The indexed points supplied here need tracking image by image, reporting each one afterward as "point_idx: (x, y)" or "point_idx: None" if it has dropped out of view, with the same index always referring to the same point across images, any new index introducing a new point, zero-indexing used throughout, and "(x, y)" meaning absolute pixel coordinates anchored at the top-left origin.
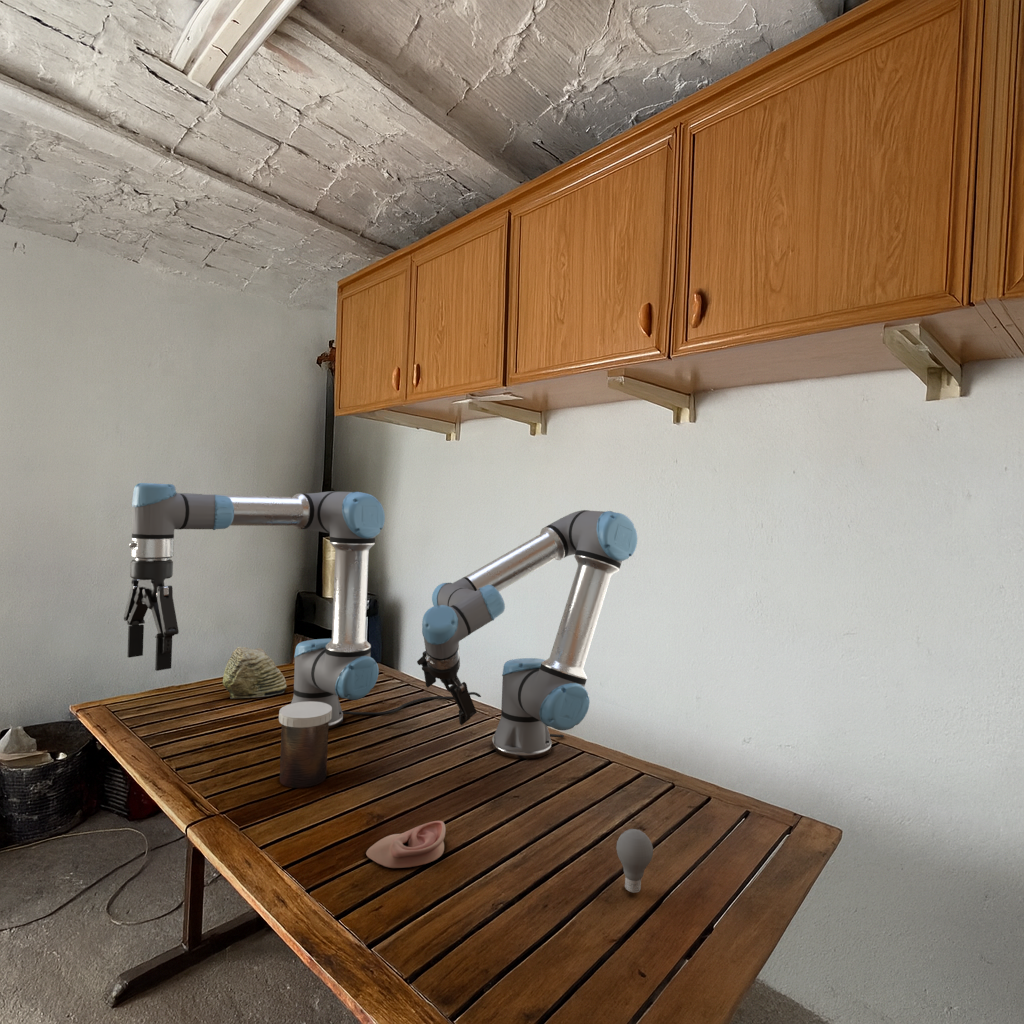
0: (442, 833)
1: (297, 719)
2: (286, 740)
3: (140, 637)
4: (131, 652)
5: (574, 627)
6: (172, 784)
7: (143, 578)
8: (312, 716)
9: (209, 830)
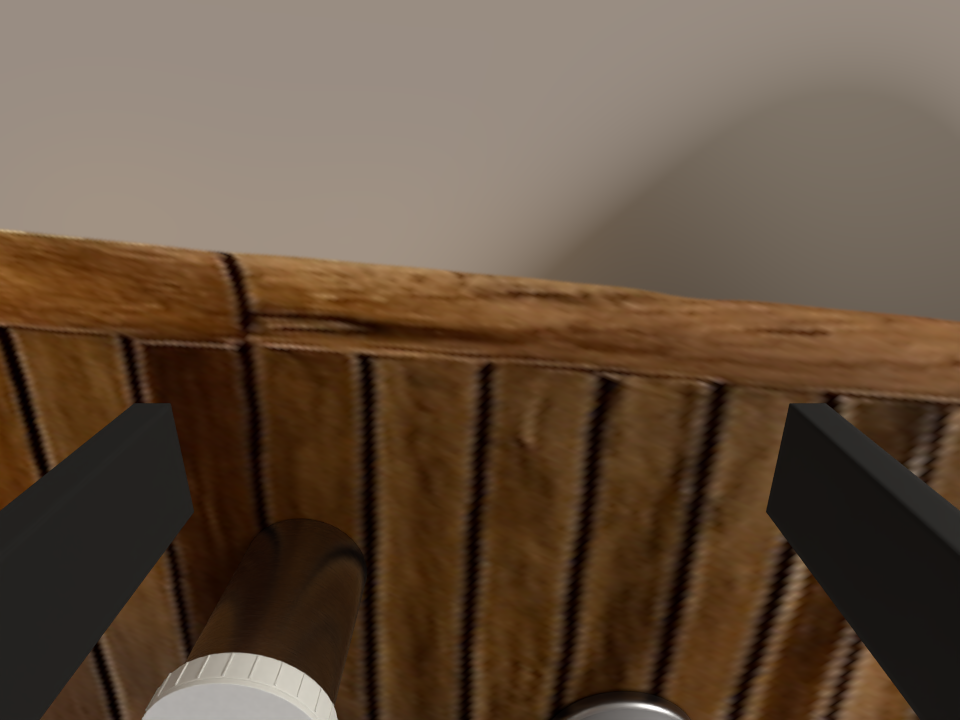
0: None
1: (163, 694)
2: (246, 614)
3: (885, 632)
4: (812, 448)
5: None
6: (515, 330)
7: None
8: None
9: (166, 281)
